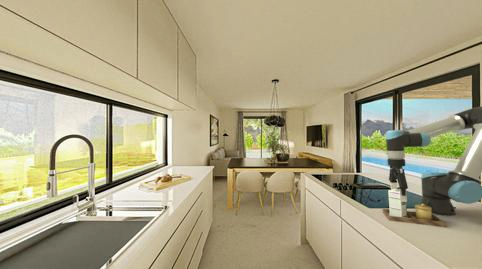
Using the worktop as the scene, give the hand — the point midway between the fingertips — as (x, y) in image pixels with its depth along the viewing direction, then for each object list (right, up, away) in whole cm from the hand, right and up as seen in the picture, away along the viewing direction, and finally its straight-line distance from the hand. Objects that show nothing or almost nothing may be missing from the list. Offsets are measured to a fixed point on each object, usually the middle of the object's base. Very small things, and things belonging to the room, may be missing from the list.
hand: (398, 197), depth 104 cm
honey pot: (+9, -10, -4) cm, 15 cm away
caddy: (+5, -11, -2) cm, 12 cm away
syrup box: (0, -11, 0) cm, 11 cm away
